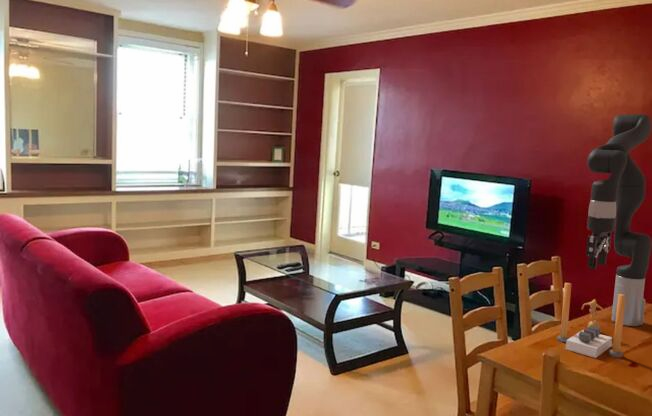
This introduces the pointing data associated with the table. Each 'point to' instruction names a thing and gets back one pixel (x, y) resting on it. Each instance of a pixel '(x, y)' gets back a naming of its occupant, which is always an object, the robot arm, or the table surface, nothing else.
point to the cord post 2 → (618, 327)
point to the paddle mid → (592, 332)
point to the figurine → (593, 310)
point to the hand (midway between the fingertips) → (596, 266)
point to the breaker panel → (589, 345)
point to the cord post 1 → (565, 313)
